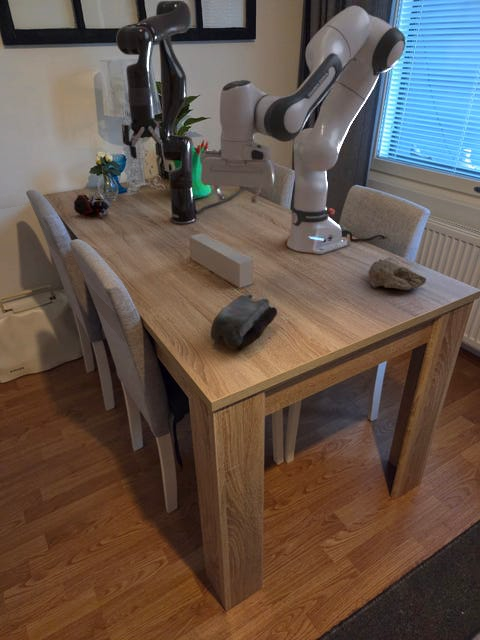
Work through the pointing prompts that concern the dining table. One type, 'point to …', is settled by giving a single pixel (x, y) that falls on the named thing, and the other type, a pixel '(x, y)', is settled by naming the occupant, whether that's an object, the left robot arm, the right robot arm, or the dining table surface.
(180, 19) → the left robot arm
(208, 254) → the bar
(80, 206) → the toy
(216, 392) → the dining table surface
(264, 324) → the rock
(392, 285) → the artifact
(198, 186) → the toy
